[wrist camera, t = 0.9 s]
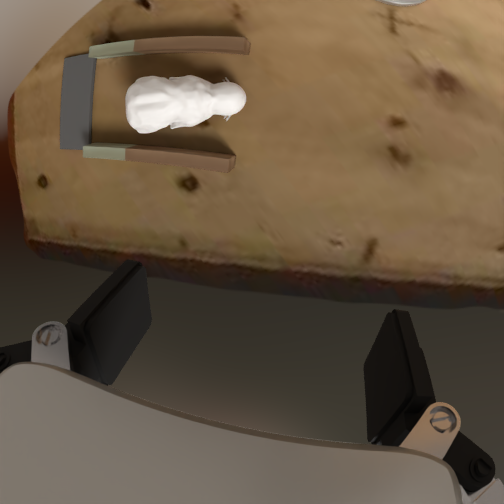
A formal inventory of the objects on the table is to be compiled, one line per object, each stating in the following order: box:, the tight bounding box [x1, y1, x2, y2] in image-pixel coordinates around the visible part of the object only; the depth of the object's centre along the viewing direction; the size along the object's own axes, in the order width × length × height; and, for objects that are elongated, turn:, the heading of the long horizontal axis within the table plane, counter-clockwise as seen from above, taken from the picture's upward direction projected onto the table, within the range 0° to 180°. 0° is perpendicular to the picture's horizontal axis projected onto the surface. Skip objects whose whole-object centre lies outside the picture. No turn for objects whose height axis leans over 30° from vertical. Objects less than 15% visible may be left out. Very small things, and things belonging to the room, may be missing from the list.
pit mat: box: [60, 54, 97, 150], centre depth 34 cm, size 14×6×1 cm, turn 173°
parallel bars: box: [83, 36, 251, 173], centre depth 31 cm, size 15×20×3 cm
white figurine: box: [125, 75, 246, 133], centre depth 28 cm, size 6×8×12 cm
